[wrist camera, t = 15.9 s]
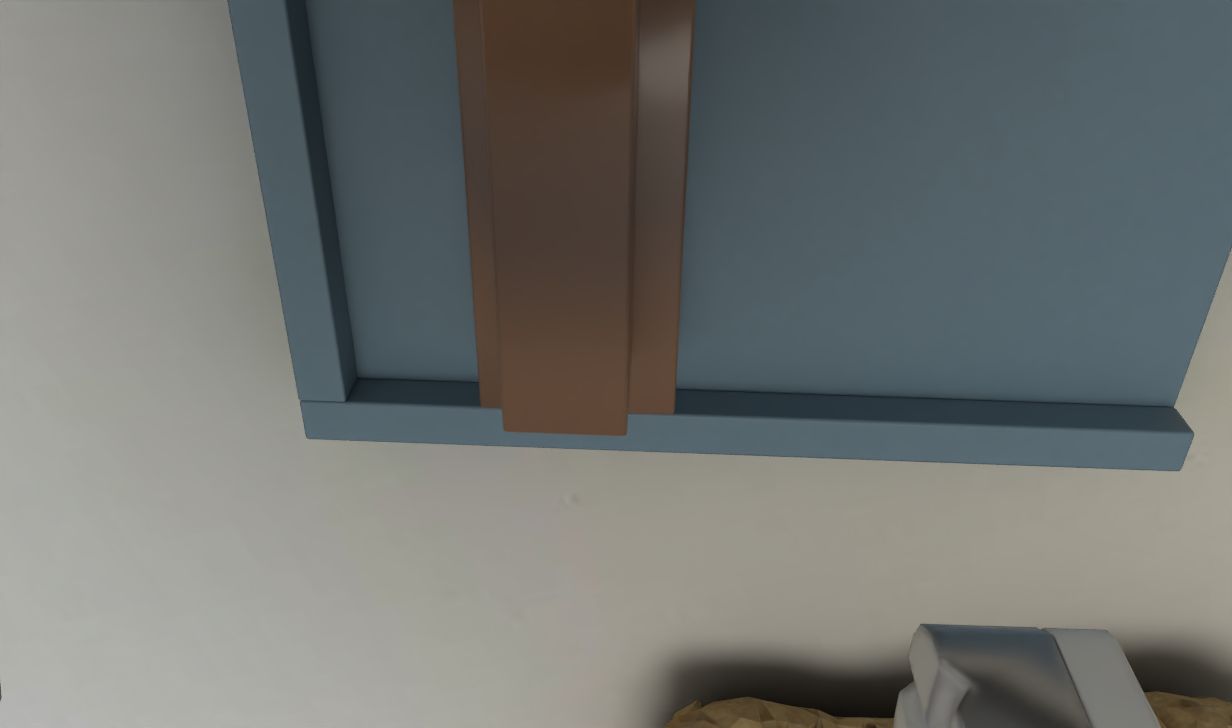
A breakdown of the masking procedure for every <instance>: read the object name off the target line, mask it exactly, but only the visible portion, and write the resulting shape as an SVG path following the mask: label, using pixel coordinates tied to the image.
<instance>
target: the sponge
mask: <svg viewBox="0 0 1232 728" xmlns="http://www.w3.org/2000/svg"><path fill="white" fill-rule="evenodd" d="M1144 694H1145V696H1146V698H1147V700H1148V702H1149V704H1150V706H1151V708H1152V710H1153V712H1154V714H1155V716H1156V718H1157V720H1158V722H1159V724H1160V726H1161V728H1232V703H1230V702H1227V701H1223V700H1219V699H1217V698H1215V697H1188V696H1183V695H1177V694H1171V693H1165V692H1159V691H1153V692H1145V693H1144ZM665 728H894V718H866V717H833V716H831V715H829V714H827V713H824V712H822V711H820V710H818V709H810V708H803V707H795V706H789V705H784V704H779V703H775V702H770V701H765V700H761V699H756V698H752V697H742V698H736V699H729V700H723V701H716V702H712V703H710V704H708V705H706V706H704V707H703V706H702V705H701V703H700V701H699V700H697V701H695V702H693V703H691V704H690V705H688V706H686V707H684V708H682V709H681V710H679V711H677V712H675V714H674V716H673V718H672V720H671V722H669V723H668V724H667V725H666V726H665Z"/></svg>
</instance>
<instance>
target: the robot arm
mask: <svg viewBox="0 0 1232 728" xmlns="http://www.w3.org/2000/svg"><path fill="white" fill-rule="evenodd" d="M908 657H909V661H910V665H911V669H912V673H913V678H914V681H913V682H912V683H910V684H909V685H908V686H906V687H905V688H904V689H902V690H901V691H900V692H899V696H898V701H897V706H896V711H895V716H894V728H1161V726H1160V724H1159V722H1158V720H1157V718H1156V716H1155V714H1154V712H1153V710H1152V708H1151V706H1150V704H1149V702H1148V700H1147V698H1146V696H1145V694H1144V692H1143V690H1142V688H1141V686H1140V684H1139V682H1138V680H1137V678H1136V676H1135V674H1134V672H1133V670H1132V668H1131V666H1130V664H1129V662H1128V660H1127V658H1126V656H1125V654H1124V652H1123V650H1122V648H1121V646H1120V644H1119V642H1118V640H1117V639H1116V638H1114V637H1113V636H1112V635H1111V634H1110V633H1109V632H1108V631H1107V630H1087V629H1058V628H1043V629H1038V628H1035V627H1003V626H972V625H940V624H920V626H919V627H918V629H917V630H916V632H915V633H914V635H913V639H912V643H911V646H910V650H909V654H908ZM0 700H1V685H0Z"/></svg>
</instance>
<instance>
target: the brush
mask: <svg viewBox="0 0 1232 728" xmlns="http://www.w3.org/2000/svg"><path fill="white" fill-rule="evenodd" d="M695 12H696V0H453V15H454V30H455V44H456V59H457V73H458V88H459V102H460V117H461V131H462V146H463V160H464V175H465V190H466V204H467V219H468V233H469V248H470V262H471V277H472V291H473V306H474V320H475V335H476V350H477V364H478V379H479V393H480V405H481V407H482V408H497V409H502V420H503V429H504V431H505V432H515V433H543V434H571V435H599V436H625V435H626V433H627V425H628V413H639V414H668V415H672V414H674V412H675V398H676V379H677V360H678V341H679V321H680V302H681V283H682V263H683V244H684V225H685V205H686V186H687V167H688V147H689V128H690V109H691V89H692V70H693V51H694V32H695Z"/></svg>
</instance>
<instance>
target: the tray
mask: <svg viewBox="0 0 1232 728" xmlns="http://www.w3.org/2000/svg"><path fill="white" fill-rule="evenodd" d="M227 1H228V6H229V12H230V18H231V23H232V29H233V34H234V40H235V45H236V51H237V57H238V62H239V68H240V73H241V79H242V85H243V90H244V96H245V101H246V107H247V112H248V118H249V124H250V129H251V135H252V140H253V146H254V152H255V157H256V163H257V168H258V174H259V180H260V185H261V191H262V196H263V202H264V207H265V213H266V219H267V224H268V230H269V235H270V241H271V247H272V252H273V258H274V263H275V269H276V275H277V280H278V286H279V291H280V297H281V302H282V308H283V314H284V319H285V325H286V330H287V336H288V342H289V347H290V353H291V358H292V364H293V369H294V375H295V381H296V386H297V392H298V397H299V400H300V406H301V411H302V417H303V423H304V428H305V434H306V437H307V438H308V439H323V440H350V441H377V442H404V443H431V444H458V445H484V446H511V447H538V448H565V449H592V450H619V451H646V452H673V453H699V454H726V455H753V456H780V457H807V458H834V459H861V460H887V461H914V462H941V463H968V464H995V465H1022V466H1049V467H1076V468H1102V469H1129V470H1156V471H1180V470H1181V469H1182V466H1183V463H1184V461H1185V458H1186V456H1187V453H1188V450H1189V448H1190V445H1191V443H1192V440H1193V437H1194V432H1193V431H1192V430H1191V428H1190V427H1189V426H1188V424H1187V423H1186V422H1185V420H1184V419H1183V418H1182V416H1181V415H1180V414H1179V412H1178V411H1177V410H1176V409H1175V408H1174V405H1175V402H1176V400H1177V397H1178V394H1179V391H1180V389H1181V386H1182V383H1183V380H1184V378H1185V375H1186V372H1187V369H1188V367H1189V364H1190V361H1191V358H1192V355H1193V353H1194V350H1195V347H1196V344H1197V342H1198V339H1199V336H1200V333H1201V331H1202V328H1203V325H1204V322H1205V320H1206V317H1207V314H1208V311H1209V309H1210V306H1211V303H1212V300H1213V297H1214V295H1215V292H1216V289H1217V286H1218V284H1219V281H1220V278H1221V275H1222V273H1223V270H1224V267H1225V264H1226V262H1227V259H1228V256H1229V253H1230V251H1231V248H1232V0H696V12H695V32H694V51H693V70H692V89H691V109H690V128H689V147H688V167H687V186H686V205H685V225H684V244H683V263H682V283H681V302H680V321H679V341H678V360H677V379H676V398H675V412H674V414H672V415H668V414H639V413H628V425H627V433H626V435H625V436H599V435H571V434H543V433H515V432H505V431H504V429H503V420H502V409H497V408H482V407H481V405H480V393H479V379H478V364H477V350H476V335H475V320H474V306H473V291H472V277H471V262H470V248H469V233H468V219H467V204H466V190H465V175H464V160H463V146H462V131H461V117H460V102H459V88H458V73H457V59H456V44H455V30H454V15H453V0H227Z"/></svg>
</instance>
